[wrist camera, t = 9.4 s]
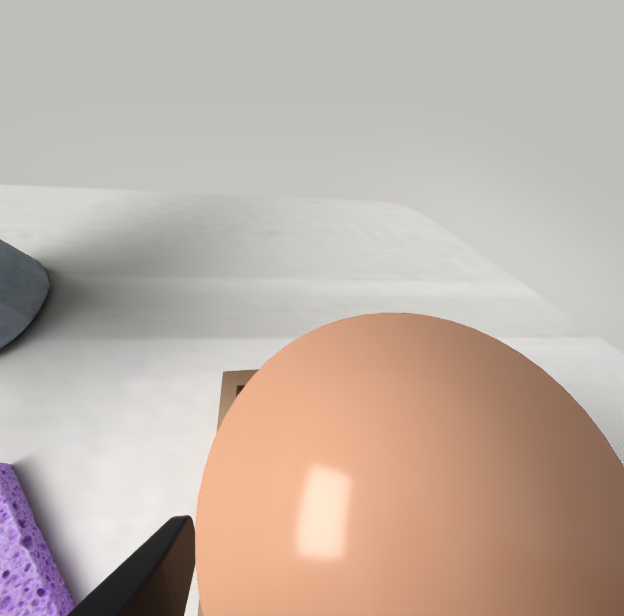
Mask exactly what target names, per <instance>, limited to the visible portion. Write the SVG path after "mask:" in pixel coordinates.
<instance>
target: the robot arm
mask: <svg viewBox="0 0 624 616" xmlns="http://www.w3.org/2000/svg"><path fill="white" fill-rule="evenodd" d="M194 568H195V529H194V525H193V520H192V518H191V517H190V516H188V515H184V516H175V517H172V518H171V519H169V520H168V521H167V522H166V523H165V524H164V525H163V526H162V527H161V528H160V529H159V530H158V531H156V532H155V533H154V534H153V535H152V536H151V537H150V538H149V539H148V540H147V541H146V542H145V543H144V544H142V545H141V546H140V547H139V548H138V549H137V550H136V551H135V552H134V553H133V554H132V555H131V556H130V557H129V558H127V559H126V560H125V561H124V562H123V563H122V564H121V565H120V566H119V567H118V568H117V569H116V570H115V571H114V572H112V573H111V574H110V575H109V576H108V577H107V578H106V579H105V580H104V581H103V582H102V583H101V584H100V585H98V586H97V587H96V588H95V589H94V590H93V591H92V592H91V593H90V594H89V595H88V596H87V597H86V598H85V599H83V600H82V601H81V602H80V603H79V604H78V605H77V606H76V607H75V608H74V609H73V610H72V611H71V612H70V613H68V614H67V615H66V616H184V613H185V608H186V604H187V599H188V595H189V590H190V586H191V581H192V577H193V572H194Z"/></svg>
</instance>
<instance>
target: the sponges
mask: <svg viewBox="0 0 624 616" xmlns="http://www.w3.org/2000/svg"><path fill="white" fill-rule="evenodd" d="M75 607H76V606H75V604H74V601H73V599H72V598H71V595H70V592H69V591H68V590H67V588H66V585H65V582H64V579H63V578H62V576H61V574H60V571H59V569H58V567H57V565H56V563H55V561H54V559H53V556H52V554H51V552H50V550H49V547H48V545H47V543H46V541H45V539H44V537H43V534H42V532H41V529H40V528H38V526H37V523H36V522H35V520H34V514H33V512H32V509H31V507H30V505H29V503H28V501H27V498H26V497H25V495H24V491H23V489H22V487H21V485H20V483H19V480H18V478H17V476H16V474H15V472H14V471H13V468H12V465H11V464H7V463H0V616H66V615H67V614H68V613H70V612H71V611H72V610H73V609H74V608H75Z"/></svg>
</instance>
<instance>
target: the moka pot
mask: <svg viewBox="0 0 624 616" xmlns="http://www.w3.org/2000/svg"><path fill="white" fill-rule="evenodd" d="M49 290H50V284H49V279H48V275H47V273H46V271H45V269H44V268H43V267H42V265H41V264H40V262H38V261H36V260H35V259H33V258H32V257H30V256H28V255H26V254H25V253H23V252H21V251H20V250H18V249H16V248H14V247H13V246H11V245H9V244H7V243H6V242H4V241H2V240H0V349H1V348H2V347H4V346H5V345H7V344H8V343H10V342H11V341H12V340H13V339H15V338H16V337H17V336H18V335H19V334H20V333H21V332H22V331H24V330H25V328H26V327H27V326H28V325H29V324H30V322H31V321H32V320H33V318H34V317H35V316H36V314H37V313H38V312H39V311H40V308H41V306H42V304H43V302H44V301H45V299H46V296H47V293H48V291H49Z"/></svg>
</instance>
